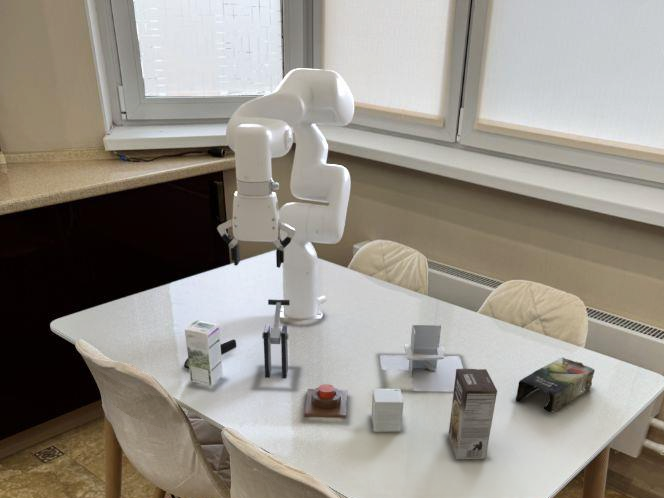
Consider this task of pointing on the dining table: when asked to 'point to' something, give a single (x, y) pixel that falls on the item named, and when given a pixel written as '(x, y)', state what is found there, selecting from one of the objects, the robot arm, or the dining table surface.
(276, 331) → the switch lever
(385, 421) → the product box
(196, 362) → the syrup box
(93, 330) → the dining table surface
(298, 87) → the robot arm
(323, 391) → the button
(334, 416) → the button housing
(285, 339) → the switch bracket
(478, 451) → the coffee box
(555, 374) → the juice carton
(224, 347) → the electric trimmer
